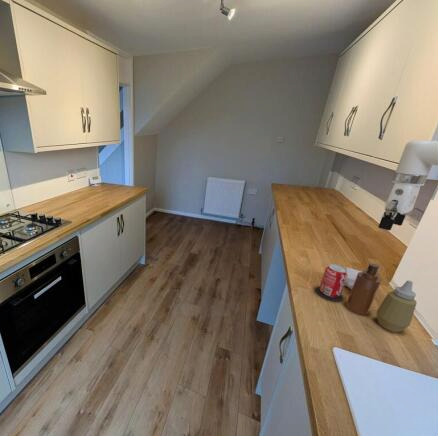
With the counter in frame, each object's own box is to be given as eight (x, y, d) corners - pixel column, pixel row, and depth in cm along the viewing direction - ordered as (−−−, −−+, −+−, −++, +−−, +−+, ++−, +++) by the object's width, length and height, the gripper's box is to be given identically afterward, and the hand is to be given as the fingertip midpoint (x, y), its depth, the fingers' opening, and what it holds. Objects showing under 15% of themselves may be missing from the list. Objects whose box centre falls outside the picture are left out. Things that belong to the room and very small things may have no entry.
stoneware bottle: (371, 311, 87) (390, 267, 81) (363, 317, 84) (382, 272, 78) (350, 300, 92) (366, 258, 86) (342, 306, 90) (358, 263, 83)
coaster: (346, 297, 95) (347, 296, 94) (335, 304, 90) (335, 303, 90) (322, 285, 102) (322, 284, 102) (310, 291, 98) (311, 290, 98)
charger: (340, 291, 98) (342, 275, 109) (369, 301, 92) (368, 283, 103) (343, 281, 96) (345, 266, 107) (373, 291, 91) (372, 274, 102)
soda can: (338, 291, 97) (347, 266, 93) (341, 301, 91) (351, 275, 87) (317, 286, 100) (325, 261, 96) (319, 295, 95) (327, 269, 91)
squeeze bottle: (395, 319, 83) (416, 276, 77) (412, 337, 76) (437, 291, 70) (367, 315, 85) (386, 272, 79) (381, 332, 78) (403, 286, 72)
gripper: (415, 183, 72) (394, 235, 78) (433, 179, 80) (413, 225, 86) (383, 179, 78) (366, 227, 84) (403, 175, 86) (386, 219, 92)
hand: (389, 226), depth 85 cm, fingers open, 9 cm apart
